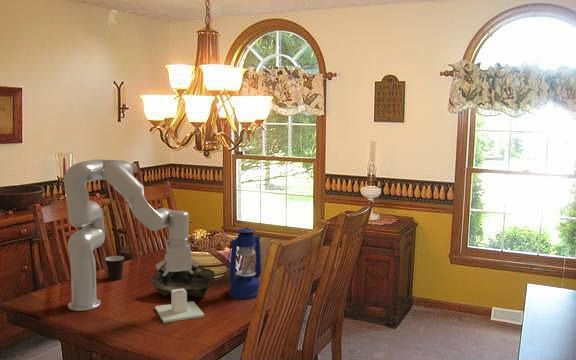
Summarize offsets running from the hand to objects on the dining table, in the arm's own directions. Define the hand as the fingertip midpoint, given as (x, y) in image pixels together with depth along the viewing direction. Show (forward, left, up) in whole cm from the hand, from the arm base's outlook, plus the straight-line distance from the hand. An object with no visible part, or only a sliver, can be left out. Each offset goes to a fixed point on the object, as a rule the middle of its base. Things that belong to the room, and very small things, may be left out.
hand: (177, 283), depth 212 cm
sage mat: (0, +1, -12) cm, 12 cm away
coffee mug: (-56, -16, -12) cm, 59 cm away
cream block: (0, +1, -11) cm, 11 cm away
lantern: (-12, +34, -12) cm, 38 cm away
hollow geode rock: (-18, +7, -12) cm, 23 cm away
